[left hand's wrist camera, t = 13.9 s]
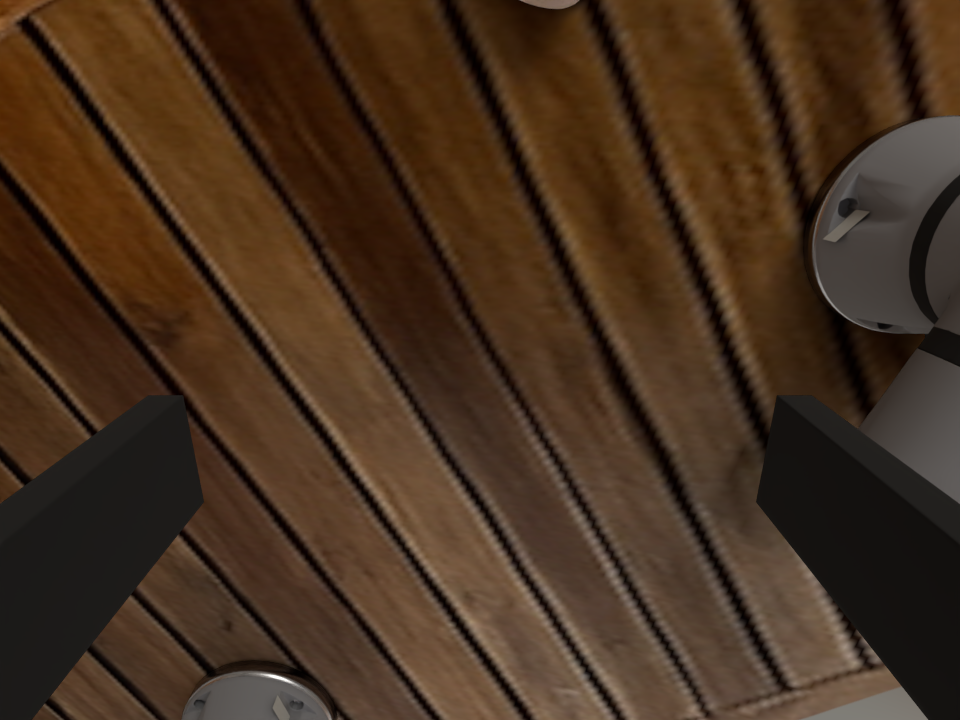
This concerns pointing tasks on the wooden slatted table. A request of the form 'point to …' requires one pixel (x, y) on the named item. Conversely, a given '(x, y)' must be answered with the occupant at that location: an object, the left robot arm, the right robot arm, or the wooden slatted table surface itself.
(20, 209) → the wooden slatted table surface
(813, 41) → the wooden slatted table surface
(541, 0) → the anatomical model
